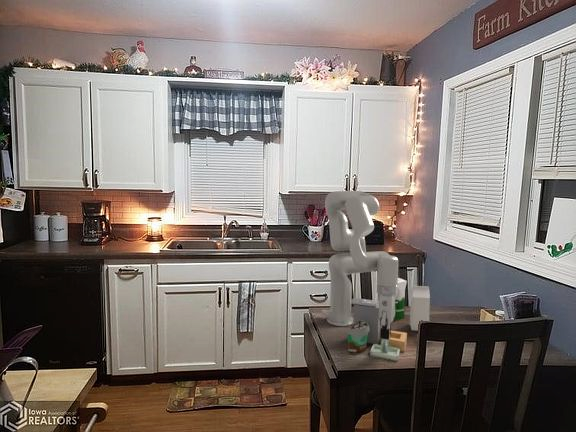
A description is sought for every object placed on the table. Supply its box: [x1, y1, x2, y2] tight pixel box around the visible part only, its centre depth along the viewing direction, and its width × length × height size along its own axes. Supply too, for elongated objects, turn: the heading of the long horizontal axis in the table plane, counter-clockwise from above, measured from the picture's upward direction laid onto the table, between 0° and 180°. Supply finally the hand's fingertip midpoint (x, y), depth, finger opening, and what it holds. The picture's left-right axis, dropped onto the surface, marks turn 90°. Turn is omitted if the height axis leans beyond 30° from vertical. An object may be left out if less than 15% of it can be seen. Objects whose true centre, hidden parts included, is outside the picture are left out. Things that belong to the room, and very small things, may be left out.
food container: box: [346, 319, 370, 354], centre depth 148 cm, size 12×6×10 cm, turn 148°
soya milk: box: [393, 277, 408, 321], centre depth 183 cm, size 9×9×20 cm
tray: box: [369, 344, 401, 362], centre depth 145 cm, size 10×7×2 cm
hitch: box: [352, 304, 408, 353], centre depth 154 cm, size 20×9×15 cm, turn 67°
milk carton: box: [409, 285, 431, 332], centre depth 169 cm, size 7×7×19 cm
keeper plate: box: [351, 297, 379, 307], centre depth 156 cm, size 10×4×1 cm, turn 67°
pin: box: [380, 319, 391, 353], centre depth 144 cm, size 3×3×14 cm
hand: (385, 336), depth 144 cm, fingers closed on pin, 3 cm apart
